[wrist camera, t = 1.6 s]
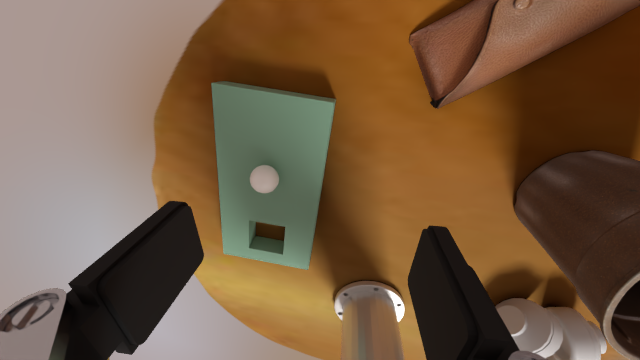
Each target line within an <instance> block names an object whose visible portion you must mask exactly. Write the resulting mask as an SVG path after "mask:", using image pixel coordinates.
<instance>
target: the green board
mask: <svg viewBox="0 0 640 360" xmlns="http://www.w3.org/2000/svg"><path fill="white" fill-rule="evenodd" d="M211 85H212V99H213V113H214V127H215V141H216V155H217V169H218V183H219V197H220V211H221V225H222V239H223V253H224V254H228V255H234V256H239V257H244V258H249V259H254V260H259V261H265V262H270V263H275V264H280V265H285V266H290V267H296V268H301V269H306V270H308V268H309V263H310V258H311V252H312V246H313V240H314V234H315V228H316V221H317V215H318V209H319V203H320V196H321V190H322V184H323V178H324V171H325V165H326V159H327V153H328V147H329V140H330V134H331V128H332V122H333V115H334V109H335V103H336V99H333V98H327V97H320V96H314V95H308V94H302V93H295V92H289V91H283V90H277V89H271V88H264V87H258V86H252V85H246V84H240V83H233V82H227V81H221V82H214V83H211ZM261 165H268V166H271V167H273V168H274V169H275V170H276V171H277V173H278V176H279V183H278V185H277V187H276V188H275V189H274V190H273V191H272V192H269V193H260V192H257V191H256V190H254V188H253V187H252V186H251V183H250V175H251V173H252V171H253V170H254V169H255V168H256V167H258V166H261ZM256 222H261V223H267V224H272V225H278V226H283V227H285V237H284V241H282V240H276V239H271V238H266V237H260V236H256Z"/></svg>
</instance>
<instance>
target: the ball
mask: <svg viewBox="0 0 640 360" xmlns="http://www.w3.org/2000/svg"><path fill="white" fill-rule="evenodd" d="M250 183H251V186H252V187H253V188H254V190H256V191H257V192H260V193H269V192H272V191H273V190H274V189H275V188H276V187H277V185H278V183H279V176H278V173H277V171H276V170H275V169H274V168H273V167H271V166H268V165H261V166H258V167H256V168H255V169H254V170H253V171H252V173H251V175H250Z"/></svg>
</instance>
